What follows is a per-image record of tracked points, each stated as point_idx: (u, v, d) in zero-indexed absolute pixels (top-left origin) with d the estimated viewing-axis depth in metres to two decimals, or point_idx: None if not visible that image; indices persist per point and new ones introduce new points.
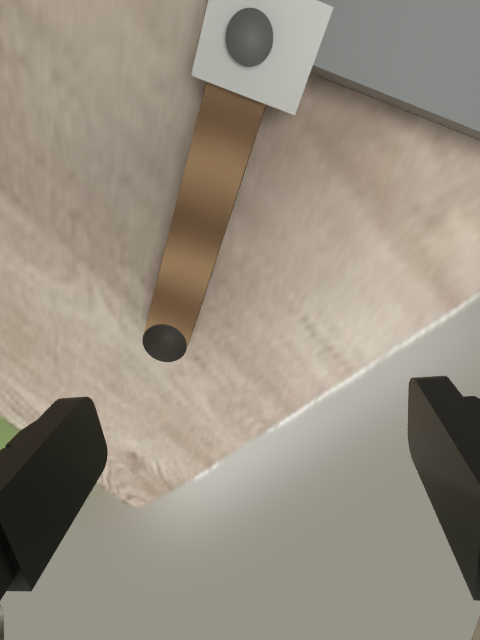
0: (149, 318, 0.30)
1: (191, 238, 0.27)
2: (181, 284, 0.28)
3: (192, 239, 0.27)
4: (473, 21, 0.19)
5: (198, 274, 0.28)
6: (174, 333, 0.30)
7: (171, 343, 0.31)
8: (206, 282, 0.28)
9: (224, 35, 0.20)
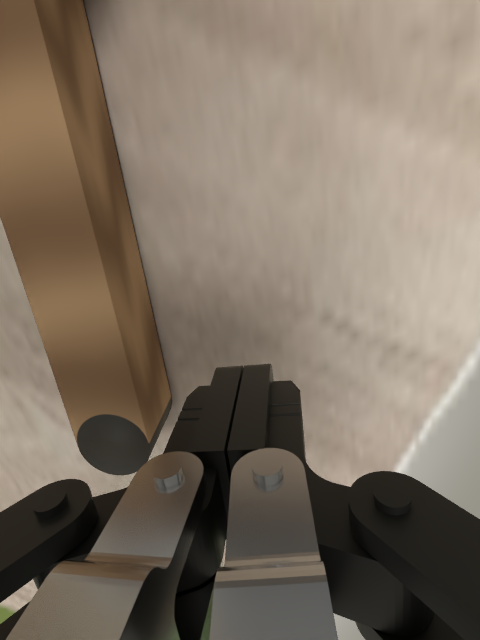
0: (70, 415, 0.18)
1: (52, 258, 0.15)
2: (81, 340, 0.17)
3: (54, 260, 0.15)
4: None
5: (96, 313, 0.16)
6: (116, 423, 0.18)
7: (122, 441, 0.18)
8: (114, 320, 0.16)
9: None
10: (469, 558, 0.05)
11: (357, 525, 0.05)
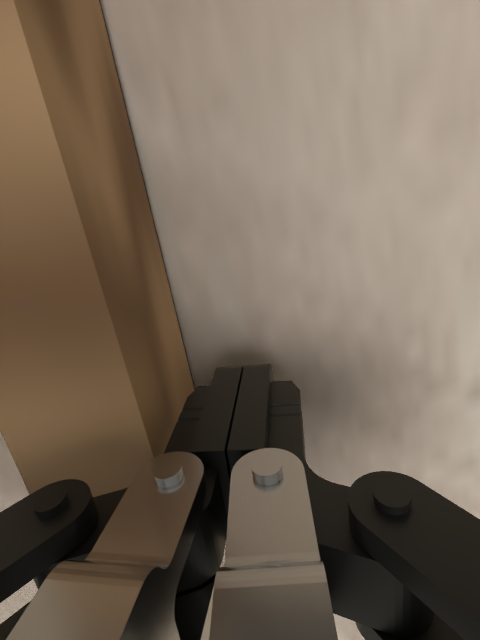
0: None
1: (30, 347, 0.08)
2: (88, 477, 0.10)
3: (34, 349, 0.08)
4: None
5: (113, 435, 0.09)
6: None
7: None
8: (146, 446, 0.09)
9: None
10: (469, 558, 0.05)
11: (357, 525, 0.05)
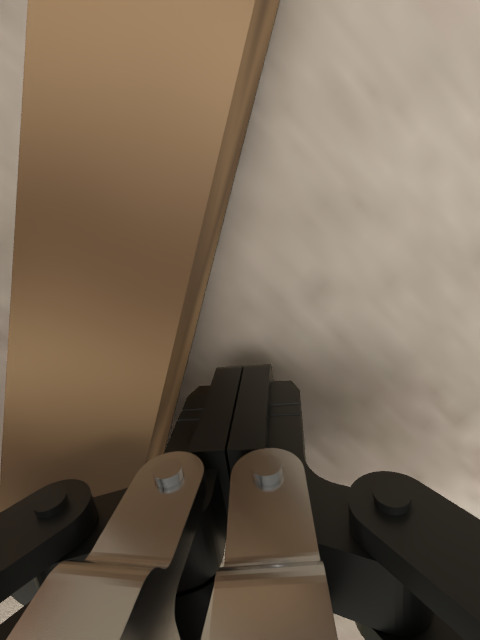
0: None
1: (86, 290, 0.08)
2: (75, 429, 0.09)
3: (90, 294, 0.08)
4: None
5: (123, 402, 0.09)
6: None
7: None
8: (150, 423, 0.09)
9: None
10: (469, 558, 0.05)
11: (356, 525, 0.05)
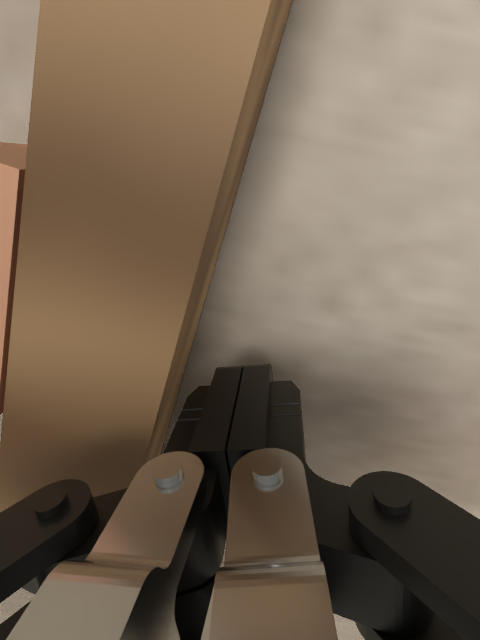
0: (0, 496, 0.10)
1: (96, 256, 0.08)
2: (78, 403, 0.09)
3: (99, 261, 0.08)
4: None
5: (130, 375, 0.09)
6: None
7: None
8: (157, 398, 0.09)
9: None
10: (469, 558, 0.05)
11: (356, 525, 0.05)
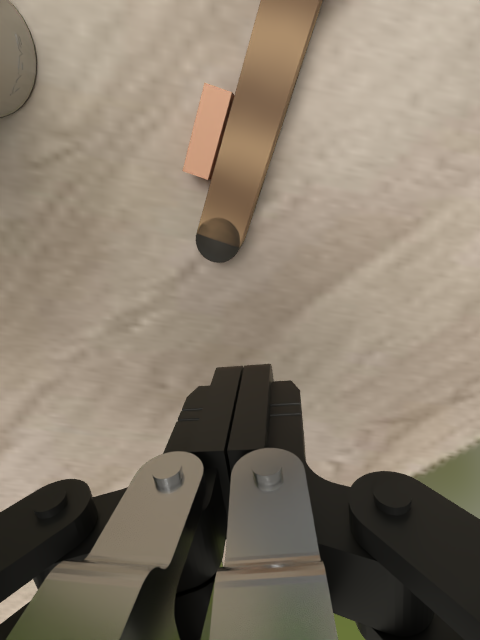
0: (204, 211, 0.30)
1: (251, 117, 0.27)
2: (238, 169, 0.29)
3: (252, 118, 0.27)
4: None
5: (256, 158, 0.28)
6: (228, 227, 0.30)
7: (224, 240, 0.31)
8: (263, 166, 0.28)
9: None
10: (469, 558, 0.05)
11: (357, 525, 0.05)
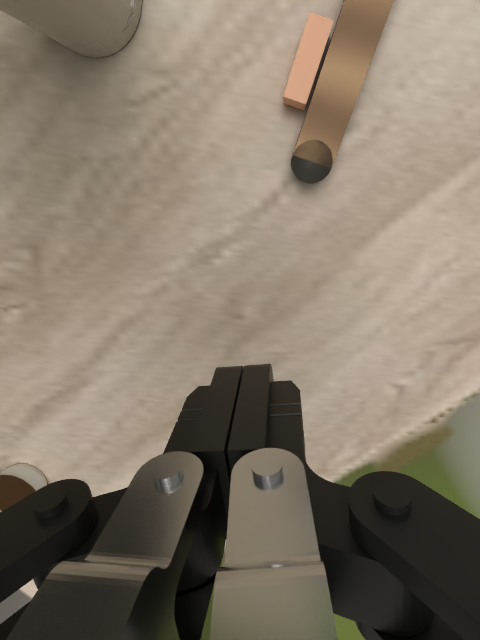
0: (301, 133, 0.33)
1: (351, 42, 0.31)
2: (336, 93, 0.32)
3: (352, 44, 0.31)
4: None
5: (353, 81, 0.32)
6: (322, 148, 0.34)
7: (318, 161, 0.34)
8: (359, 89, 0.32)
9: None
10: (469, 558, 0.05)
11: (357, 525, 0.05)
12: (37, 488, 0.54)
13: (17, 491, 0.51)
